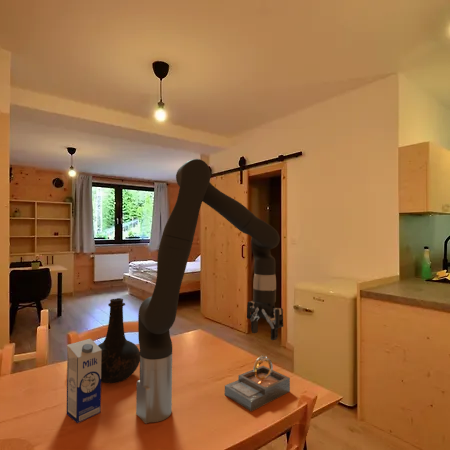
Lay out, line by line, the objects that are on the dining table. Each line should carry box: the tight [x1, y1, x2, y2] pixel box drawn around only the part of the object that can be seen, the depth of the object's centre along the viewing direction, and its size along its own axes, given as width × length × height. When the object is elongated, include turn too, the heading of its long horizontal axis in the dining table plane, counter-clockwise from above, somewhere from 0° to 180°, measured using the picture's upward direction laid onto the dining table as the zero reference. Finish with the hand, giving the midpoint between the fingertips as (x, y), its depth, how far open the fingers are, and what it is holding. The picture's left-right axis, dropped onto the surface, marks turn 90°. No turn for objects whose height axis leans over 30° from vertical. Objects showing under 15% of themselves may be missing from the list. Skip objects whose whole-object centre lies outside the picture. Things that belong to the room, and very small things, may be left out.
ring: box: [252, 355, 274, 381], centre depth 105 cm, size 7×3×8 cm, turn 110°
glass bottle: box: [97, 297, 140, 384], centre depth 113 cm, size 18×18×28 cm
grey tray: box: [224, 365, 291, 412], centre depth 103 cm, size 18×12×4 cm, turn 130°
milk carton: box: [66, 338, 102, 424], centre depth 91 cm, size 7×7×20 cm
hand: (264, 336), depth 105 cm, fingers open, 8 cm apart
